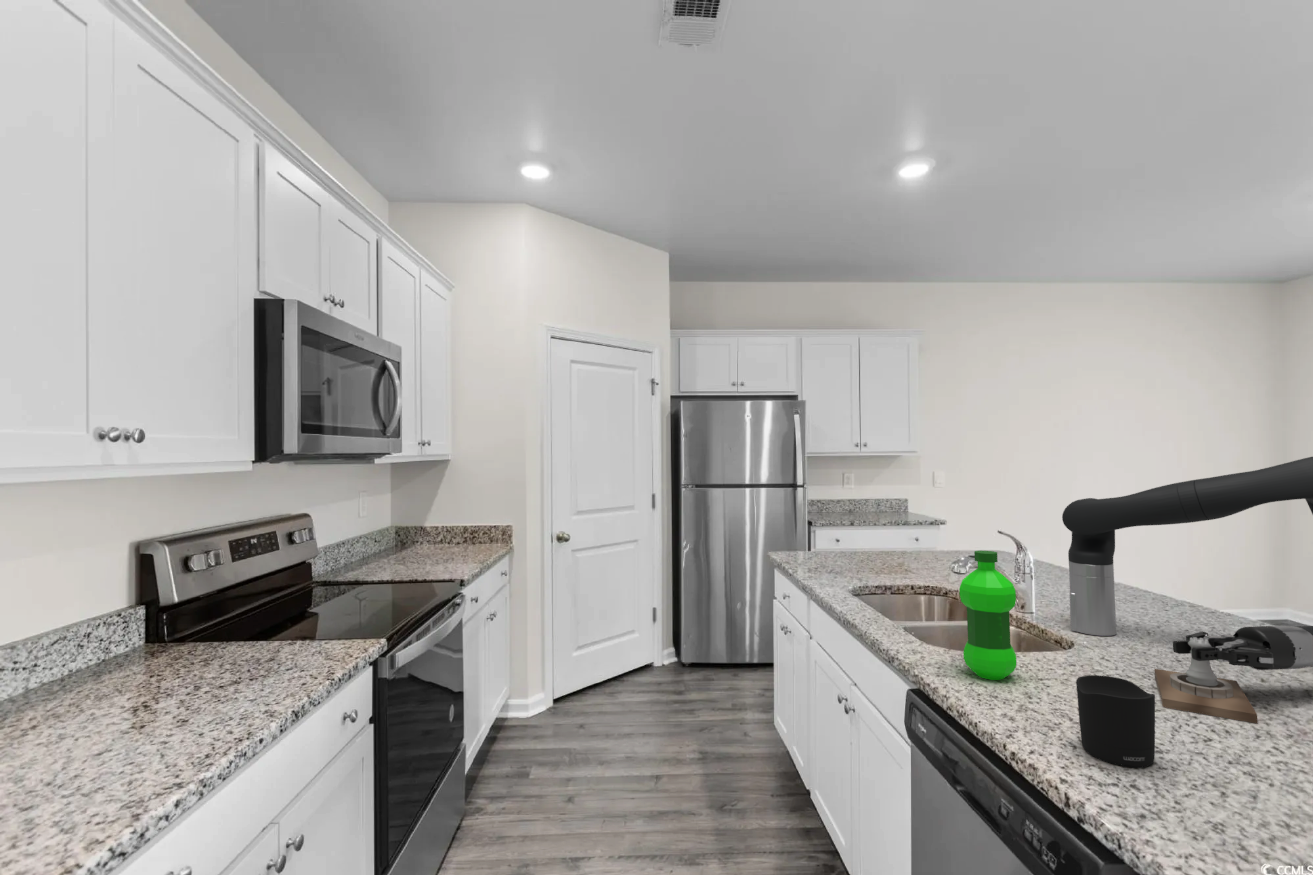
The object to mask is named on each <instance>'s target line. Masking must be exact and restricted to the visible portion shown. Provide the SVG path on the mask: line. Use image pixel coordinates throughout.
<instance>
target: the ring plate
mask: <svg viewBox="0 0 1313 875" xmlns="http://www.w3.org/2000/svg"><path fill="white" fill-rule="evenodd" d="M1153 671H1154V679H1155V682H1156V686H1157V690H1158V694H1159V698H1160V701H1161V705H1162V708H1164V709H1165V708H1167V709H1172V710H1177V711H1182V712H1183V711H1184V712H1188V711H1189V712H1188V713H1194V714H1201V715H1206V716H1212V717H1218V718H1222V719H1230V720H1234V721H1235V720H1236V721H1240V722H1245V723H1252V724H1258V714H1257V712H1256V710H1255V709H1254V708H1255V707H1253V705H1252V703H1251V702H1250V700H1249V699H1248V697H1247V696H1246V694H1245V692H1244V690H1243V689H1242V687H1241V686H1240V684H1239V682H1238V681H1237V680H1234V679H1226V678H1219V677H1217V680H1216V682H1218V685H1217V686H1216V687H1203V686H1197V685H1193V684H1191V683H1189V682H1188V681H1187V680H1186V677H1188V676H1187V675H1186V672H1179V671H1173V670H1167V669H1165V670H1164V669H1159V668H1154V670H1153Z"/></svg>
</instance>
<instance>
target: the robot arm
mask: <svg viewBox="0 0 1313 875" xmlns="http://www.w3.org/2000/svg"><path fill="white" fill-rule="evenodd" d="M1293 500H1305V502H1306V504H1307V506H1308V507H1309V510H1310V512H1311V515H1313V456H1309V457H1304V458H1300V459H1295V460H1292V461H1289V462H1284V463H1281V464H1277V465H1273V466H1269V467H1265V468H1260V469H1256V470H1250V471H1243V472H1237V473H1230V474H1224V475H1218V476H1217V475H1216V476H1213V477H1206V478H1205V477H1204V478H1197V479H1192V480H1186V481H1180V482H1179V481H1178V482H1175V483H1170V484H1164V485H1161V486H1156V487H1154V488H1149V489H1145V490H1142V491H1138V492H1135V493H1131V494H1127V495H1123V496H1122V495H1121V496H1117V497H1107V498H1099V499H1098V498H1094V497H1092V498H1091V497H1089V498H1088V497H1087V498H1081V499H1077V500H1074V501H1072V502H1071V503H1069V504H1068V505H1067V506H1065V508H1064V510H1063V512H1062V514H1061V515H1062V517H1061V518H1062V523H1063V525H1064V527H1065V528H1067V530H1068V531H1070V532H1071V544H1070V547H1069V549H1068V573H1069V574H1068V576H1069V577H1068V579H1069V611H1070V612H1069V613H1070V615H1069V616H1070V617H1069V618H1070V631H1071V632H1077V633H1081V634H1086V635H1092V636H1103V637H1107V636H1109V637H1110V636H1115V635H1117V617H1116V615H1117V614H1116V612H1117V611H1116V598H1115V597H1116V594H1115V572H1114V571H1115V569H1114V555H1115V550H1116V530H1123V529H1127V528H1132V527H1133V528H1134V527H1143V526H1163V525H1164V526H1165V525H1179V524H1188V523H1191V524H1192V523H1197V522H1205V521H1213V520H1217V519H1223V518H1225V517H1229V516H1232V515H1236V514H1238V513H1240V512H1243V511H1246V510H1249V509H1252V508H1254V507H1258V506H1260V505H1265V504H1270V503H1275V502H1284V501H1293ZM1193 637H1197V640H1200V638H1203V641H1205V639H1207V640H1208V643H1209V644H1210V645H1211V647H1193V648H1192V658H1193V659H1194V660H1197V661H1217V662H1219V663H1228V664H1229V665H1231V666H1241V667H1250V668H1252V669H1254V670H1258V671H1271V670H1273V671H1275V670H1278V671H1279V670H1296V669H1297V670H1298V669H1304V668H1311V667H1313V625H1301V626H1298V625H1297V626H1291V625H1262V626H1261V625H1260V626H1258V625H1257V626H1244V627H1243V626H1242V627H1241V628H1239V629H1238V630H1236V631H1235V633H1234V634H1233V635H1231V634H1222V635H1218V636H1217V635H1209V633H1208V632H1205V631H1202V632H1201V631H1199V632H1194V633H1192V634H1187V635H1185V640H1184V639H1183V640H1173V641H1172V650H1173V653H1175V654H1178V655H1183V654H1184V655H1185V654H1187V655H1188V654H1191V653H1190V651H1191V647H1190V646H1189V644H1188V642H1189V641H1190V638H1193Z"/></svg>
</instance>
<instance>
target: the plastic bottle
mask: <svg viewBox="0 0 1313 875" xmlns="http://www.w3.org/2000/svg"><path fill="white" fill-rule="evenodd" d="M974 561H975V562H977V568H976V569H974V570H973V571H971V572H970V573H969V574H968V575H967V576H964V578H963V579H962V580H961V583H960V586H959V589H958V590H959V599H960V602H961V603H962V604H963V605H964V606H965V607H966V620H967V622H966V623H967V626H966V628H967V641H966V642H965V645H964V648H963V653H962V654H963V660H964V663H965V665H966V666H967V667H968V668H969V669H970V670H971V671H972V672H973V673H975V675H976V676H978V677H980V678H982V679H986V680H992V681H1001V680H1005V678H1007V677H1008V676H1010V675H1011V674H1012V673H1014V672H1015V670H1016V669H1017V668H1016V667H1017V653H1016V652H1015V650H1014V647H1013V646H1012V644H1011V628H1010V627H1011V626H1010V622H1011V620H1010V611H1011V610H1012V609H1014V607H1015V606H1016V602H1017V594H1016V588H1015V586H1014V584H1013V583H1012V582H1011V581H1010V580H1009V579H1008V578H1007V577H1006V576H1005V575H1004V574H1002V573H1001V572H1000V571H999V570H997V569H996V563H998V551H993V550H974Z"/></svg>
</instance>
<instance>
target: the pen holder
mask: <svg viewBox="0 0 1313 875" xmlns="http://www.w3.org/2000/svg"><path fill="white" fill-rule="evenodd" d="M1075 683H1076V685H1075V686H1076V695H1077V707H1078V708H1077V709H1078V720H1079V728H1080V729H1079V731H1080V738H1081V745H1082V747H1083V749H1084V750H1085V751H1086V753H1088V754H1090V755H1091V756H1092V757H1094V758H1096V759H1098V760H1101V761H1103V762H1106V763H1108V764H1112V765H1117V766H1120V767H1125V768H1126V767H1127V768H1140V769H1141V768H1146V767H1149V766H1151V765H1152V764H1153V763H1154V762H1155V757H1156V756H1155V752H1156V751H1155V750H1156V748H1155V747H1156V745H1155V744H1156V740H1155V739H1156V711H1155V710H1156V697H1155V696H1156V695H1155V694H1154V693H1149V692H1147V691H1145V690H1144V689H1142V688H1141V687H1140V686H1138V685H1137V684H1135V683H1133V682H1132V681H1131V680H1127V679H1124V678H1121V677H1115V676H1109V675H1108V676H1107V675H1099V674H1097V675H1095V674H1094V675H1093V674H1092V675H1091V674H1090V675H1089V674H1088V675H1083V676H1078V678H1076V681H1075Z"/></svg>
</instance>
